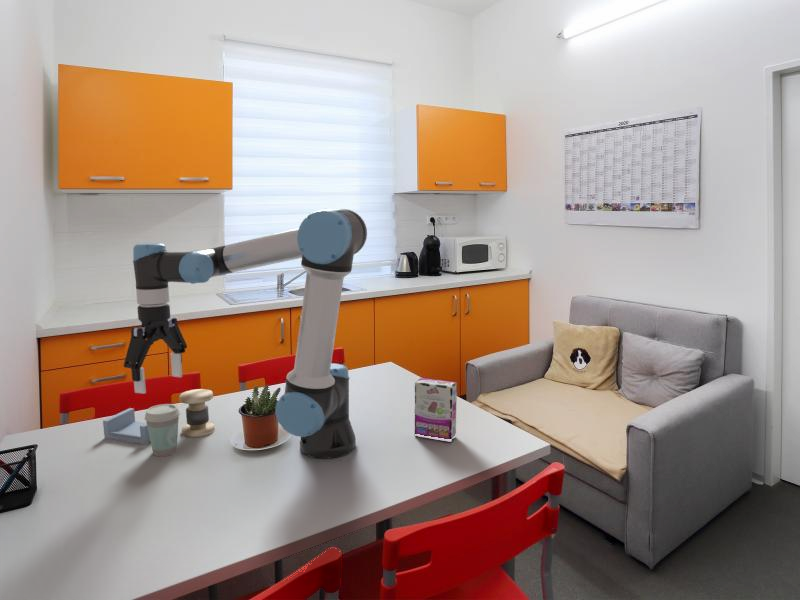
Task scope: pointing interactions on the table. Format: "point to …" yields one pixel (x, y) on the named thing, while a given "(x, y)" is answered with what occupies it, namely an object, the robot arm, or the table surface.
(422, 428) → the candy bar box
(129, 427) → the u-shaped channel bracket
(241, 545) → the table surface
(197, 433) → the bobbin
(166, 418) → the coffee cup
